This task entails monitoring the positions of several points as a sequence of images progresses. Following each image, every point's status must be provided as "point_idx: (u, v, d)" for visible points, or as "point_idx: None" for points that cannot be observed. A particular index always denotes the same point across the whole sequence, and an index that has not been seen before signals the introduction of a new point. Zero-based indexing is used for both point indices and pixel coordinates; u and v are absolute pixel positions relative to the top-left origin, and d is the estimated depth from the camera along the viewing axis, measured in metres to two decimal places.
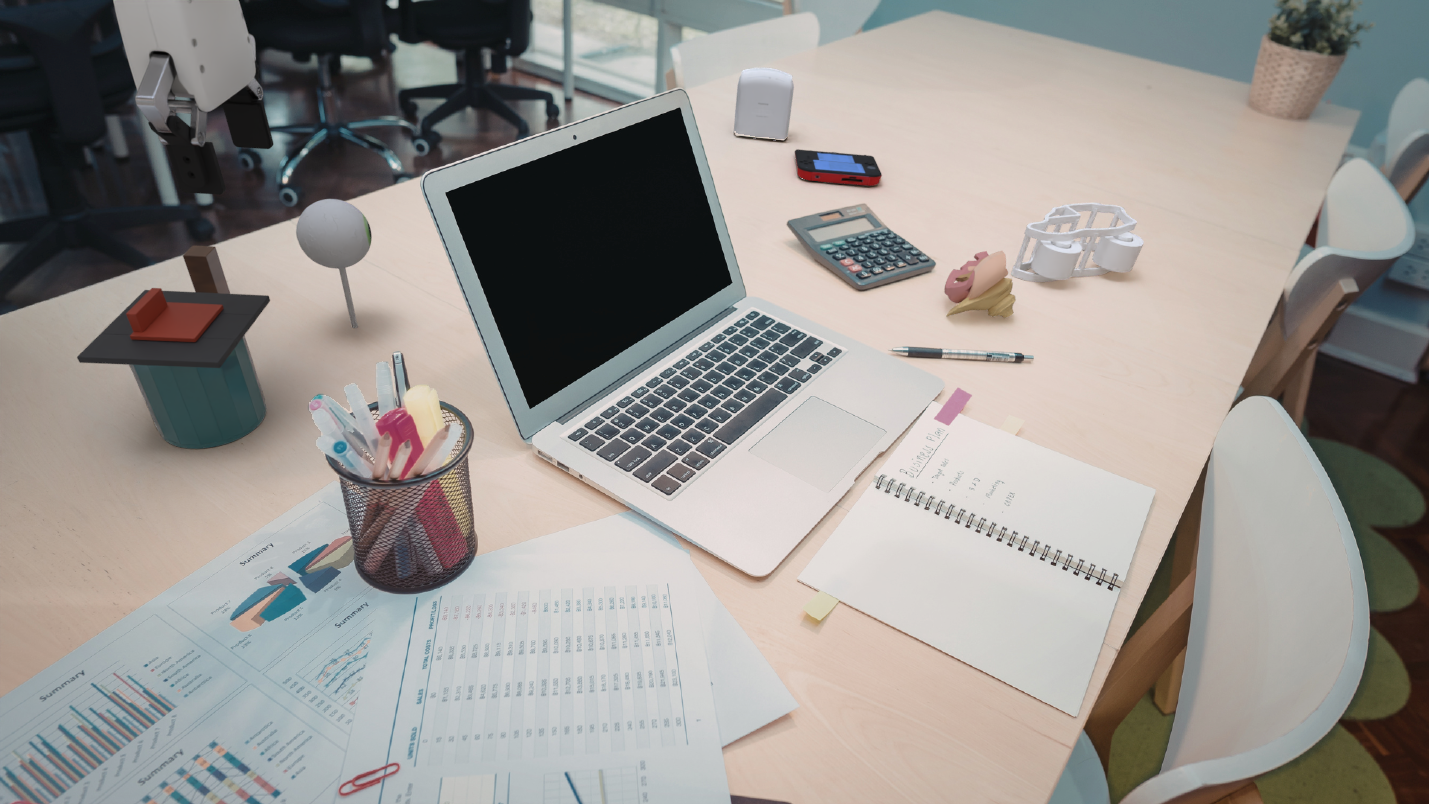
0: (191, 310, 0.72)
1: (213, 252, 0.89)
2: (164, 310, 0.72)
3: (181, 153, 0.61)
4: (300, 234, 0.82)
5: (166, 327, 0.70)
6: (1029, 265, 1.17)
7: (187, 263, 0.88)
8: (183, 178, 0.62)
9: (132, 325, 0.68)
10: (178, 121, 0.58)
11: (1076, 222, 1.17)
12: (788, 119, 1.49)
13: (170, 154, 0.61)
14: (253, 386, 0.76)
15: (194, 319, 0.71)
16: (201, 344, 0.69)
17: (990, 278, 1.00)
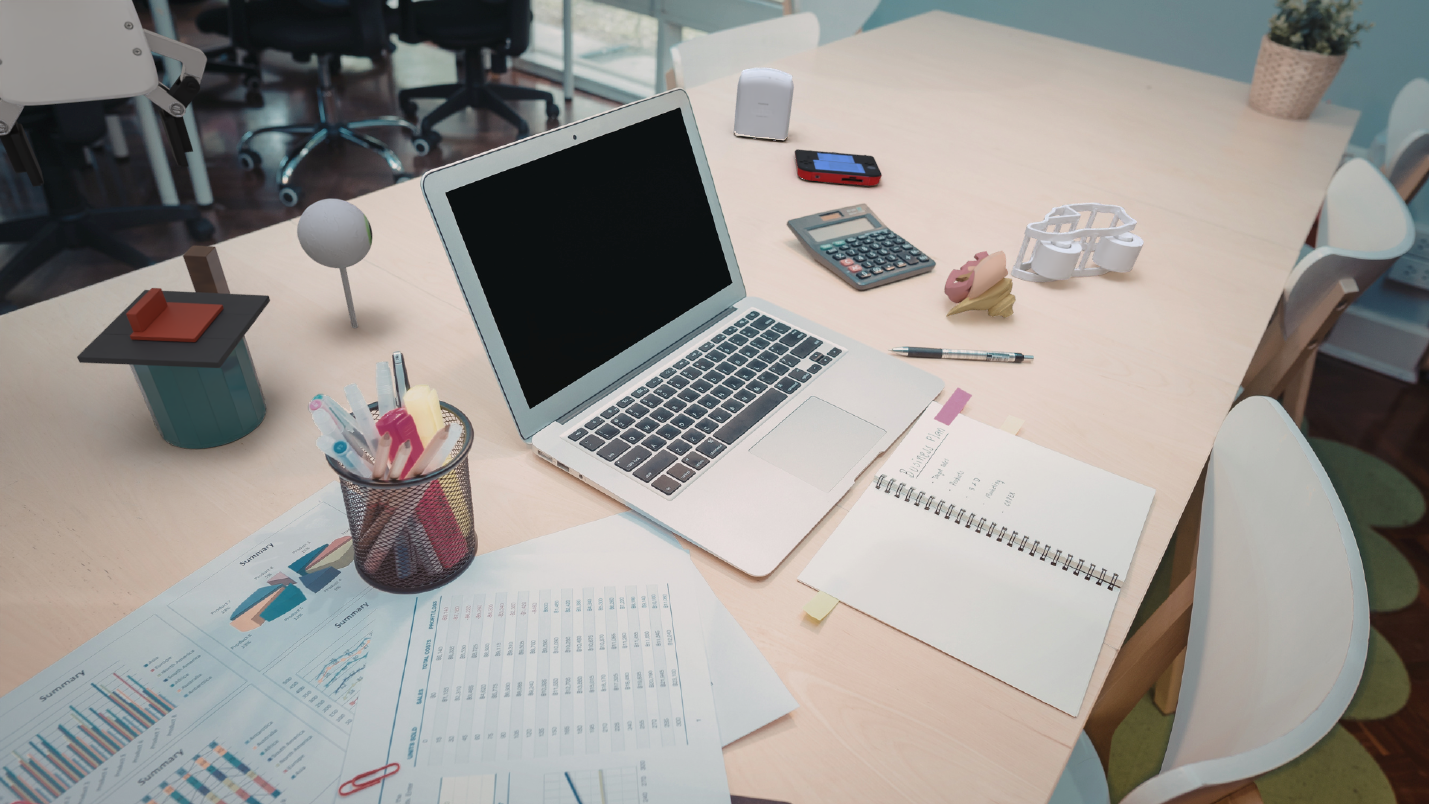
0: (191, 310, 0.72)
1: (213, 252, 0.89)
2: (164, 310, 0.72)
3: None
4: (301, 234, 0.82)
5: (166, 327, 0.70)
6: (1029, 265, 1.17)
7: (187, 263, 0.88)
8: None
9: (132, 325, 0.68)
10: None
11: (1076, 222, 1.17)
12: (788, 119, 1.49)
13: None
14: (253, 386, 0.76)
15: (194, 319, 0.71)
16: (201, 344, 0.69)
17: (990, 278, 1.00)
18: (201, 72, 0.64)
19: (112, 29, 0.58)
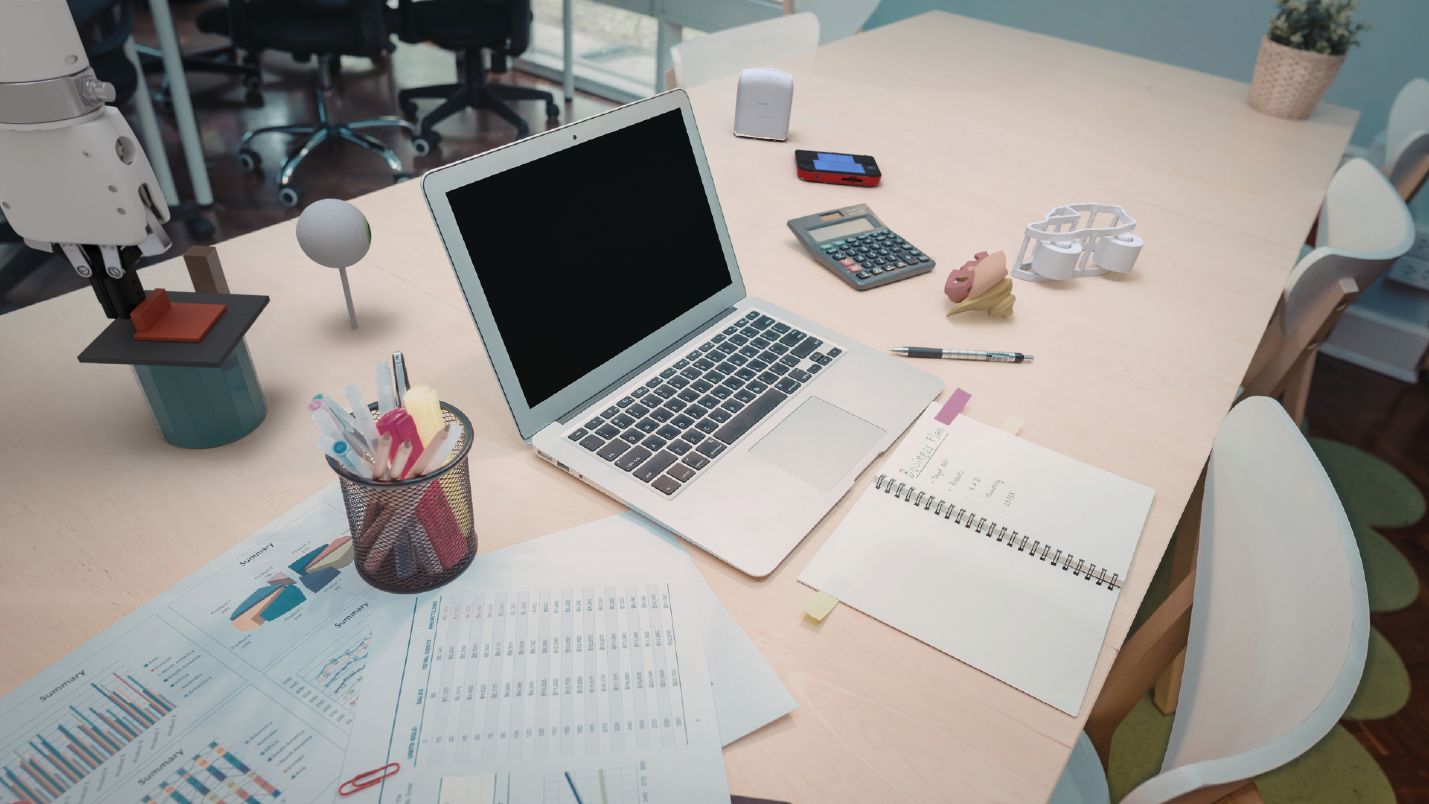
0: (195, 311, 0.72)
1: (213, 252, 0.89)
2: (168, 310, 0.72)
3: None
4: (299, 234, 0.82)
5: (170, 327, 0.70)
6: (1029, 265, 1.17)
7: (187, 263, 0.88)
8: None
9: (136, 325, 0.68)
10: (57, 248, 0.65)
11: (1076, 222, 1.17)
12: (788, 119, 1.49)
13: None
14: (253, 386, 0.76)
15: (198, 319, 0.71)
16: (201, 344, 0.69)
17: (990, 278, 1.00)
18: (149, 254, 0.66)
19: (97, 190, 0.61)
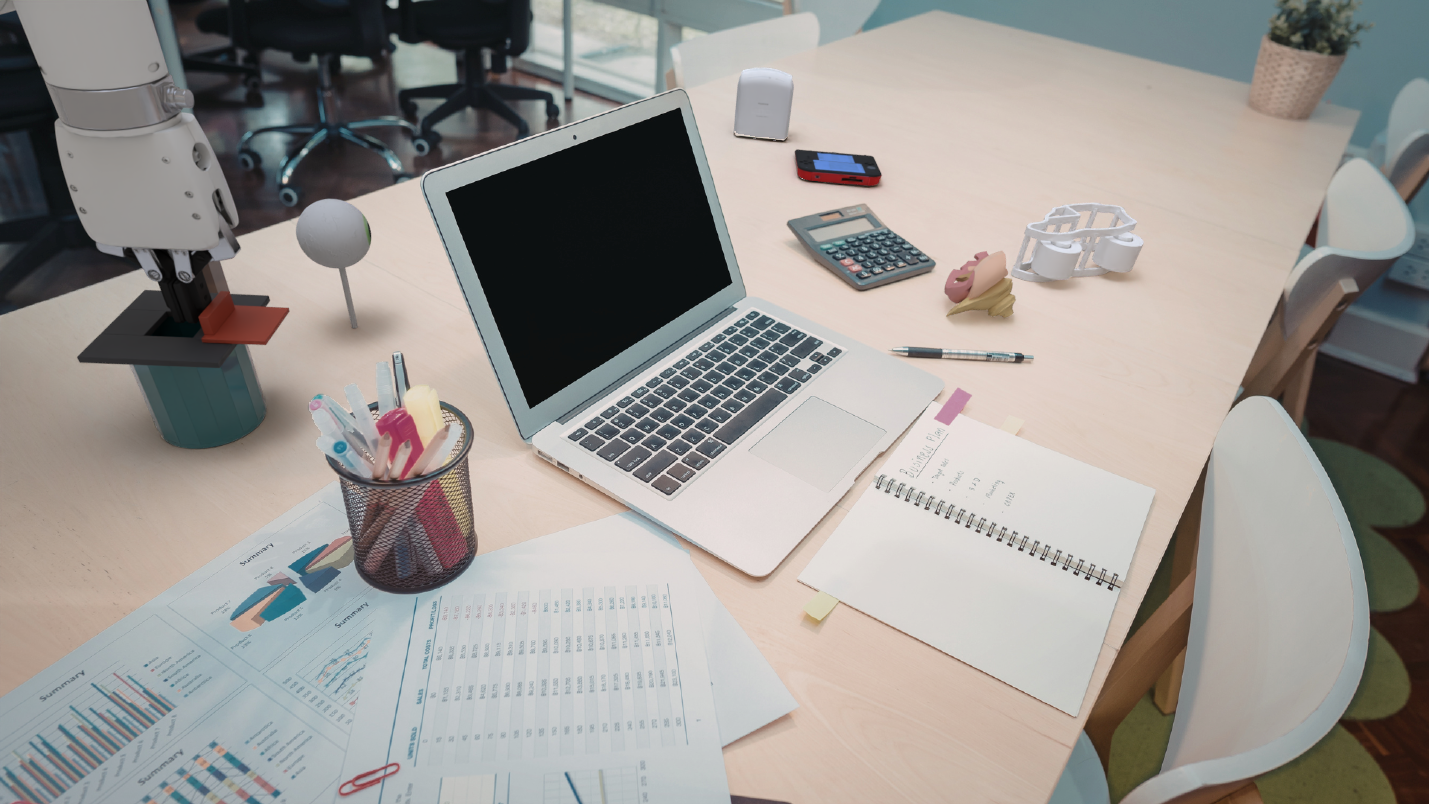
0: (259, 313, 0.73)
1: None
2: (232, 313, 0.72)
3: None
4: (299, 234, 0.82)
5: (236, 330, 0.70)
6: (1029, 265, 1.17)
7: None
8: None
9: (203, 328, 0.69)
10: (128, 252, 0.66)
11: (1076, 222, 1.17)
12: (788, 119, 1.49)
13: None
14: (253, 386, 0.76)
15: (262, 322, 0.72)
16: (201, 344, 0.69)
17: (990, 278, 1.00)
18: (219, 259, 0.67)
19: (173, 196, 0.62)
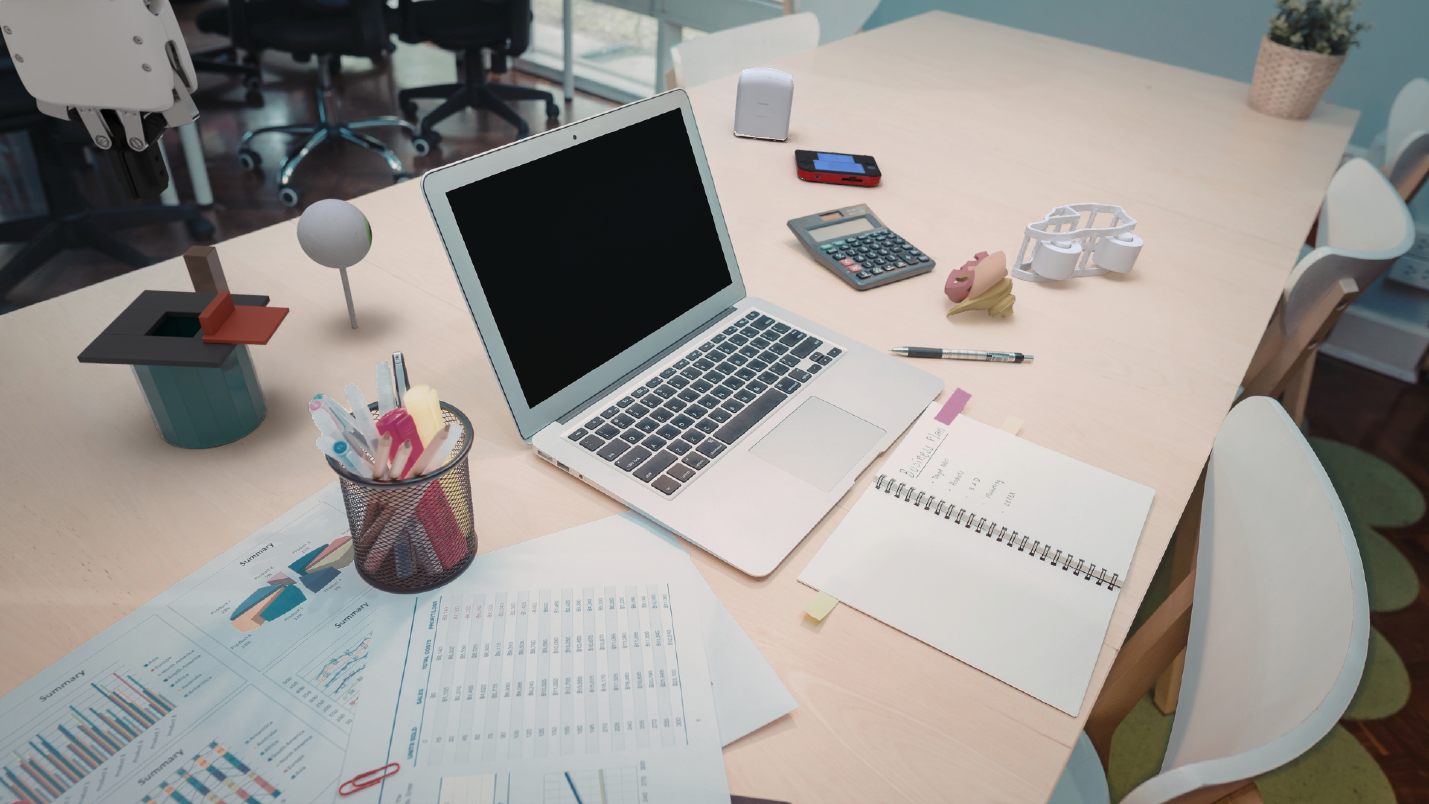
0: (259, 313, 0.73)
1: (213, 252, 0.89)
2: (232, 313, 0.72)
3: None
4: (300, 234, 0.82)
5: (236, 330, 0.70)
6: (1029, 265, 1.17)
7: (187, 263, 0.88)
8: None
9: (203, 328, 0.69)
10: (73, 114, 0.59)
11: (1076, 222, 1.17)
12: (788, 119, 1.49)
13: None
14: (253, 386, 0.76)
15: (262, 322, 0.72)
16: (201, 344, 0.69)
17: (990, 278, 1.00)
18: (175, 124, 0.60)
19: (120, 41, 0.55)
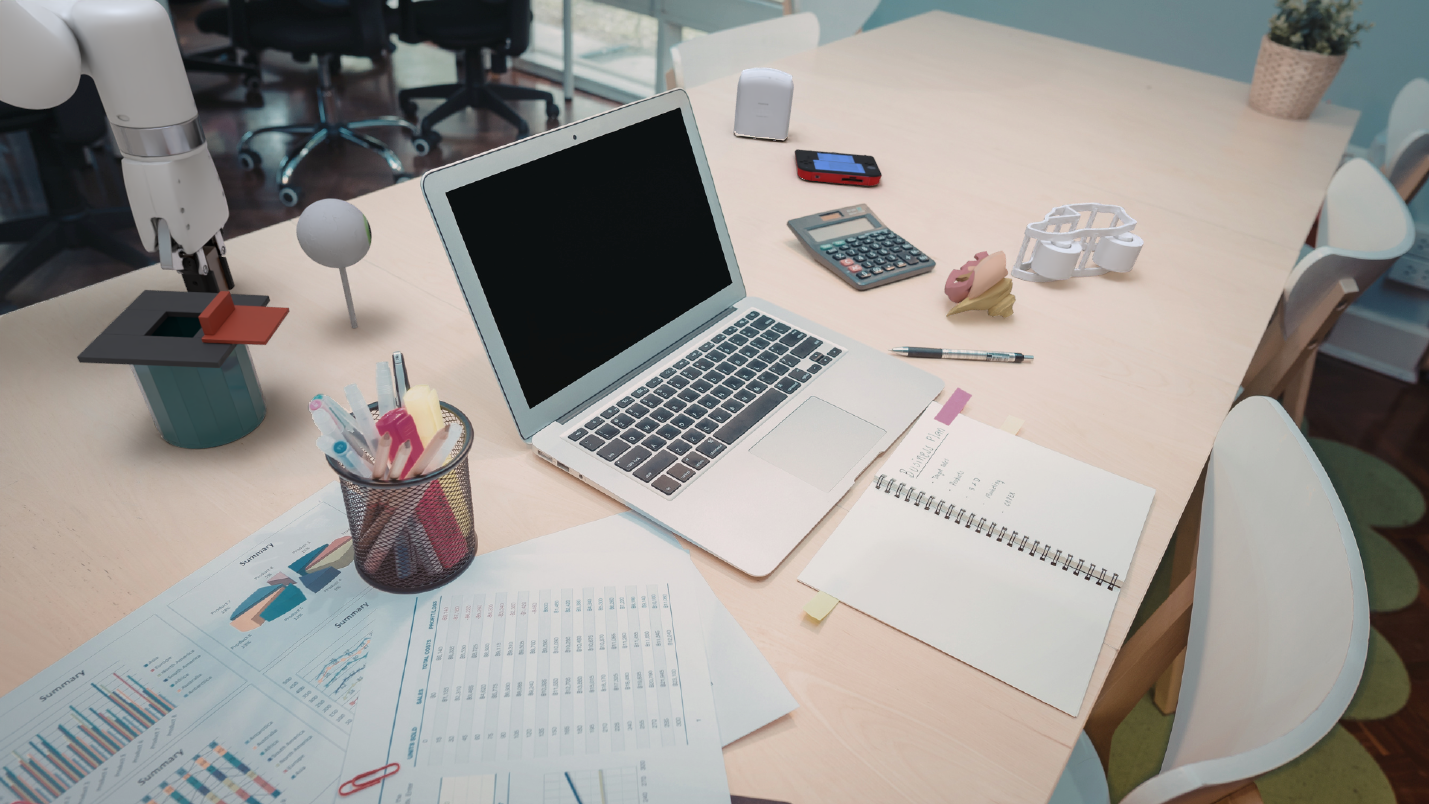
0: (259, 313, 0.73)
1: (213, 252, 0.89)
2: (232, 313, 0.72)
3: (191, 279, 0.88)
4: (300, 234, 0.82)
5: (236, 330, 0.70)
6: (1029, 265, 1.17)
7: None
8: None
9: (203, 328, 0.69)
10: (190, 261, 0.85)
11: (1076, 222, 1.17)
12: (788, 119, 1.49)
13: (184, 279, 0.88)
14: (253, 386, 0.76)
15: (262, 322, 0.72)
16: (201, 344, 0.69)
17: (990, 278, 1.00)
18: (223, 225, 0.92)
19: (216, 183, 0.87)
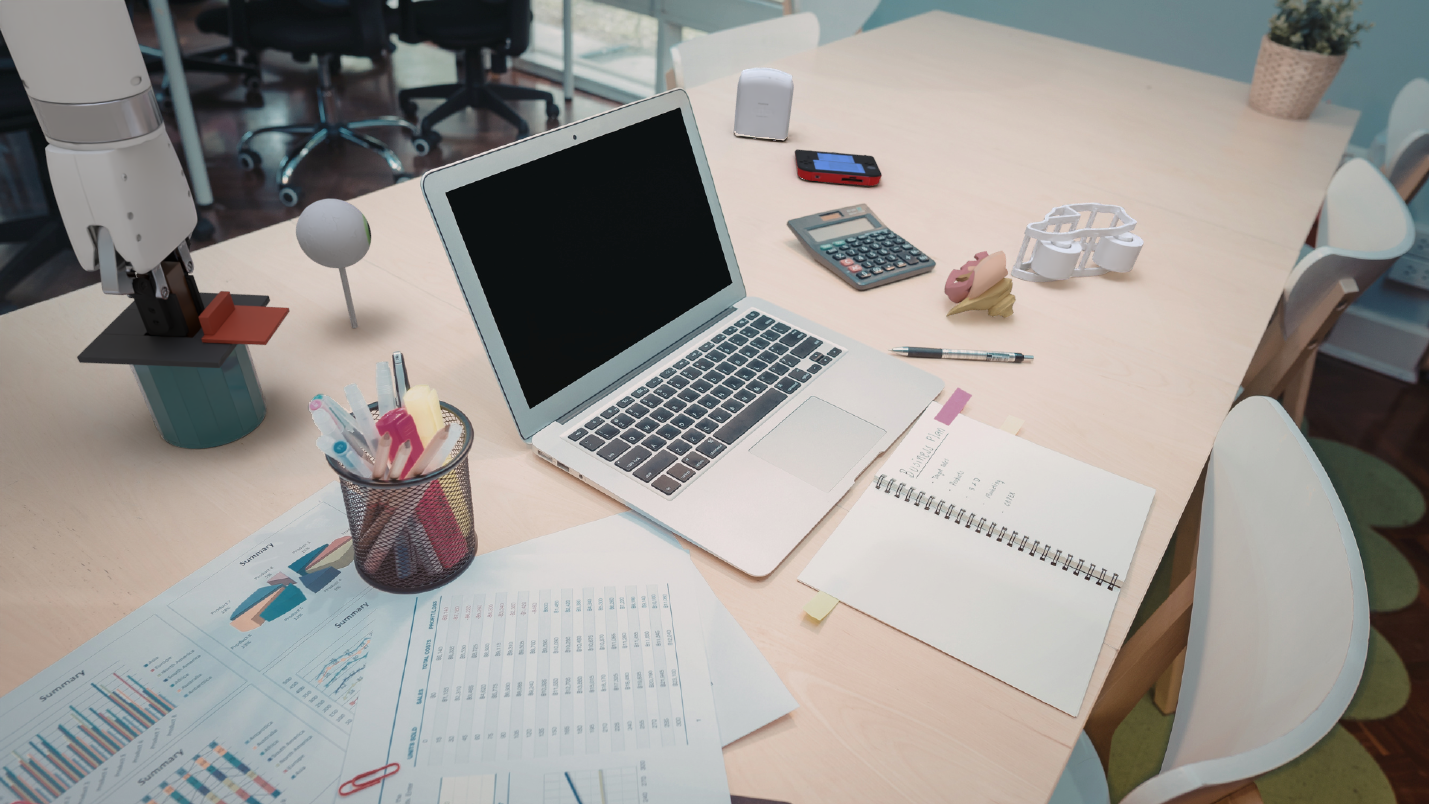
0: (259, 313, 0.73)
1: (177, 269, 0.68)
2: (232, 313, 0.72)
3: (147, 305, 0.67)
4: (299, 234, 0.82)
5: (236, 330, 0.70)
6: (1029, 265, 1.17)
7: None
8: (149, 325, 0.68)
9: (203, 328, 0.69)
10: (143, 282, 0.64)
11: (1076, 222, 1.17)
12: (788, 119, 1.49)
13: (137, 304, 0.68)
14: (253, 386, 0.76)
15: (262, 322, 0.72)
16: (201, 344, 0.69)
17: (990, 278, 1.00)
18: (190, 234, 0.71)
19: (179, 180, 0.66)
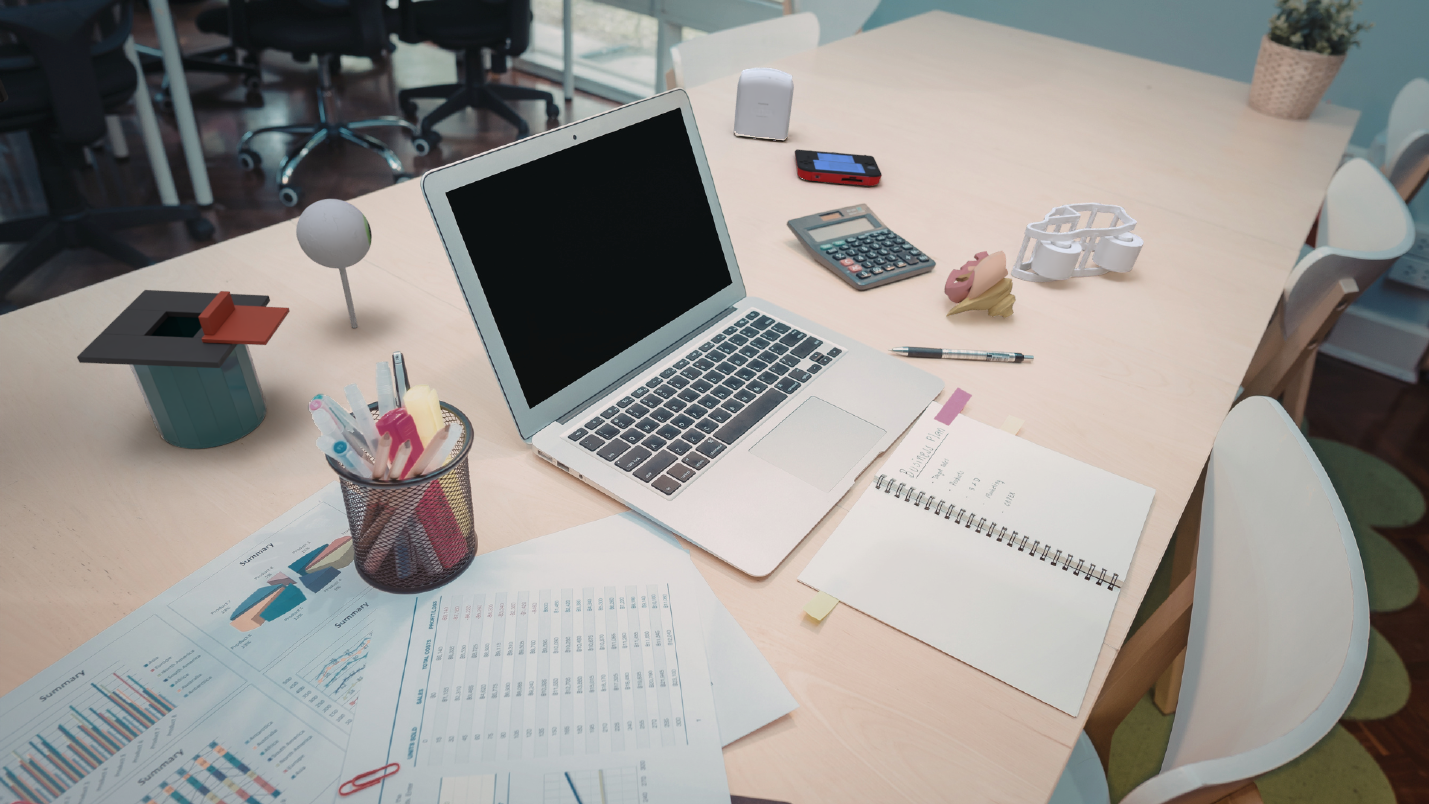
0: (259, 313, 0.73)
1: None
2: (232, 313, 0.72)
3: None
4: (300, 234, 0.82)
5: (236, 330, 0.70)
6: (1029, 265, 1.17)
7: None
8: None
9: (203, 328, 0.69)
10: None
11: (1076, 222, 1.17)
12: (788, 119, 1.49)
13: None
14: (253, 386, 0.76)
15: (262, 322, 0.72)
16: (201, 344, 0.69)
17: (990, 278, 1.00)
18: None
19: None
